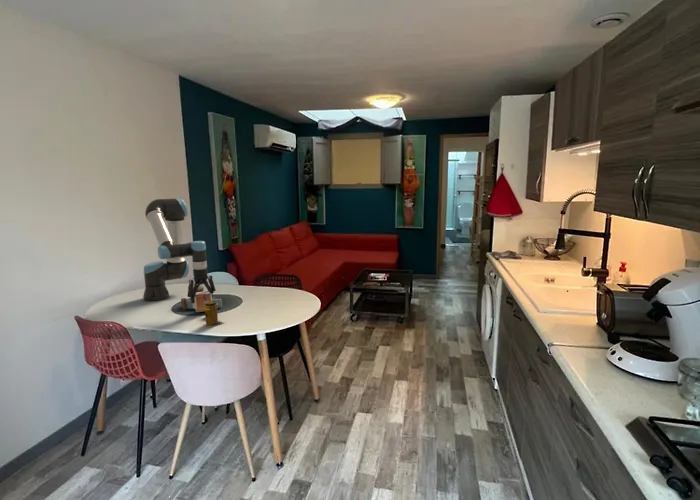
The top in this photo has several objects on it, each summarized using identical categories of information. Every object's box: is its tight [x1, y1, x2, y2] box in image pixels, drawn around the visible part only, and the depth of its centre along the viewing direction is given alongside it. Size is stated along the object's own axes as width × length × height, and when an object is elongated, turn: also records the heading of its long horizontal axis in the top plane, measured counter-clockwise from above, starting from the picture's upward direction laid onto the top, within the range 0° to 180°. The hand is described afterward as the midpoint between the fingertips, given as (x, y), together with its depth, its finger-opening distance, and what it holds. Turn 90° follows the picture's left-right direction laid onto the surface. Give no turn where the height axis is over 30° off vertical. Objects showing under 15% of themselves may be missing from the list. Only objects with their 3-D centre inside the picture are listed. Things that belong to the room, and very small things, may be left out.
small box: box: [194, 290, 210, 313], centre depth 221 cm, size 8×6×10 cm
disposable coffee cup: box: [187, 282, 205, 293], centre depth 237 cm, size 10×10×12 cm
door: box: [185, 298, 223, 310], centre depth 227 cm, size 21×2×6 cm, turn 95°
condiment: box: [202, 301, 224, 328], centre depth 202 cm, size 7×8×12 cm
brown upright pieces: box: [180, 297, 188, 310], centre depth 220 cm, size 29×2×6 cm, turn 55°
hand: (202, 305), depth 222 cm, fingers closed on small box, 9 cm apart
